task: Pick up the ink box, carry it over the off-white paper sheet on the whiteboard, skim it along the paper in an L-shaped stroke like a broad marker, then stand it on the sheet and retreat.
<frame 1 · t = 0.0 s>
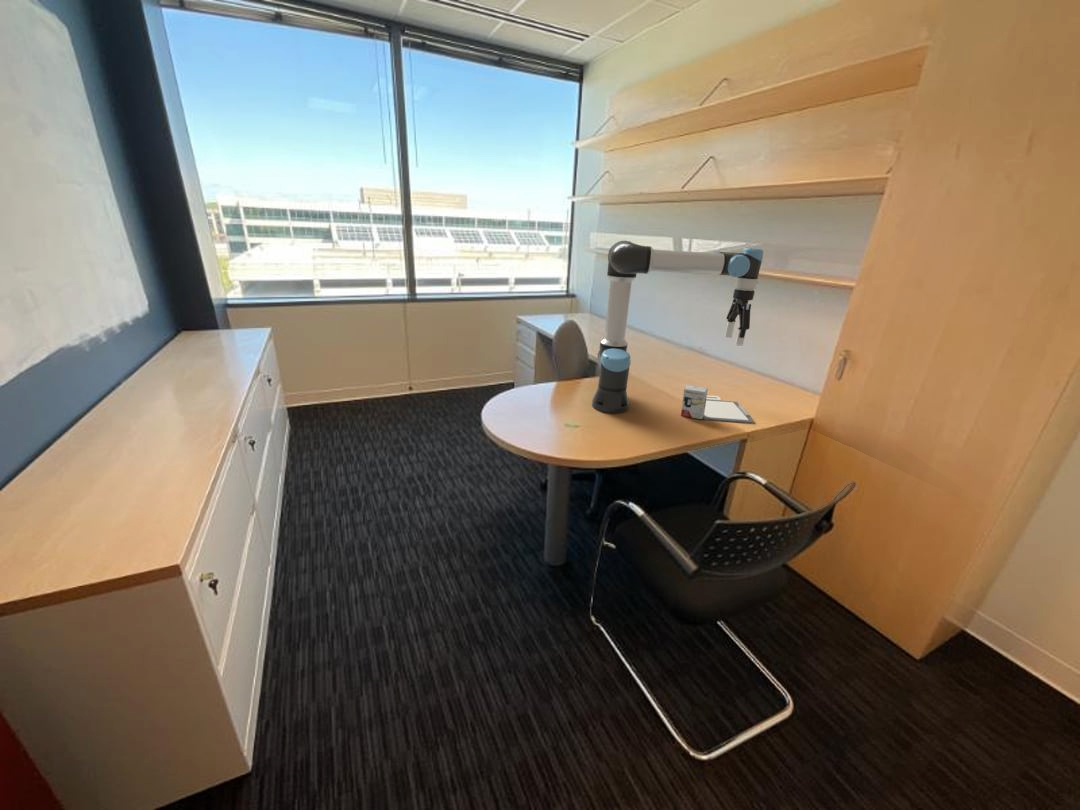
hand: (733, 341, 184), 28 cm above the table, fingers open, 13 cm apart
whiteboard: (720, 411, 186), on the table
ink box: (692, 415, 180), on the table, touching whiteboard
word card: (710, 398, 200), on the table
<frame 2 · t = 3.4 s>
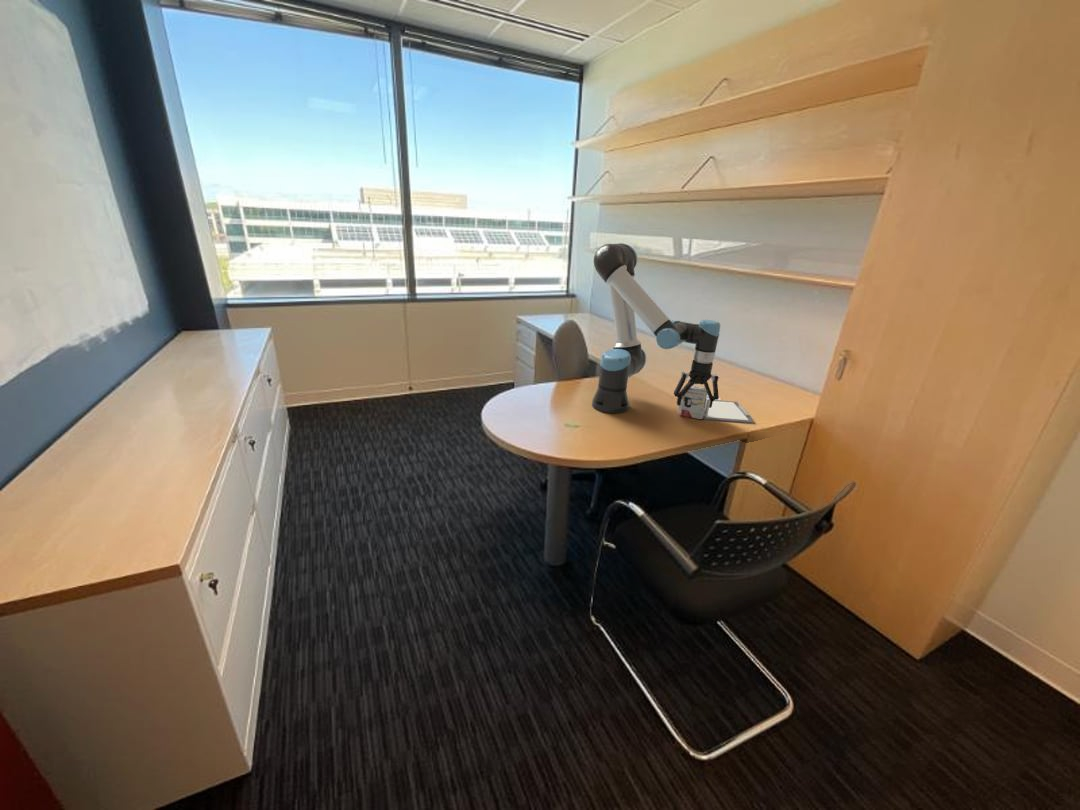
hand: (692, 413, 179), 1 cm above the table, fingers closed on ink box, 10 cm apart
ink box: (692, 415, 180), on the table, touching whiteboard, gripper
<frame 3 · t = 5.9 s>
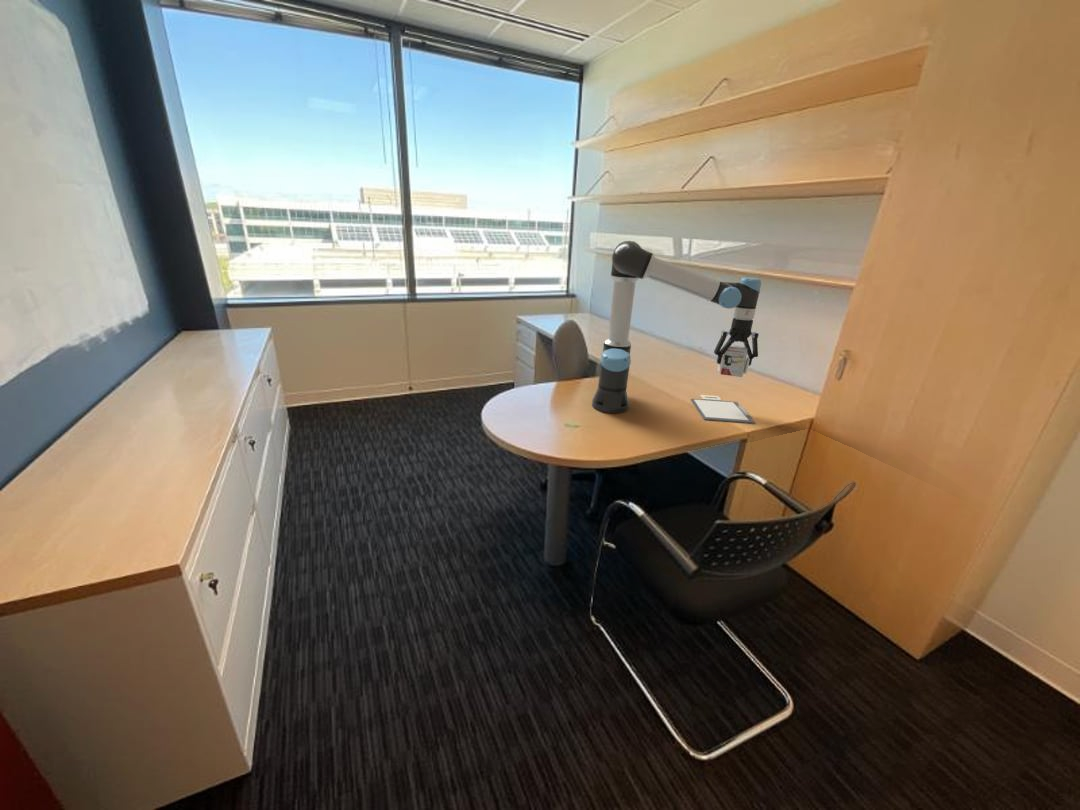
hand: (731, 371, 184), 16 cm above the table, fingers closed on ink box, 10 cm apart
ink box: (731, 374, 184), point 15 cm above the table, touching gripper
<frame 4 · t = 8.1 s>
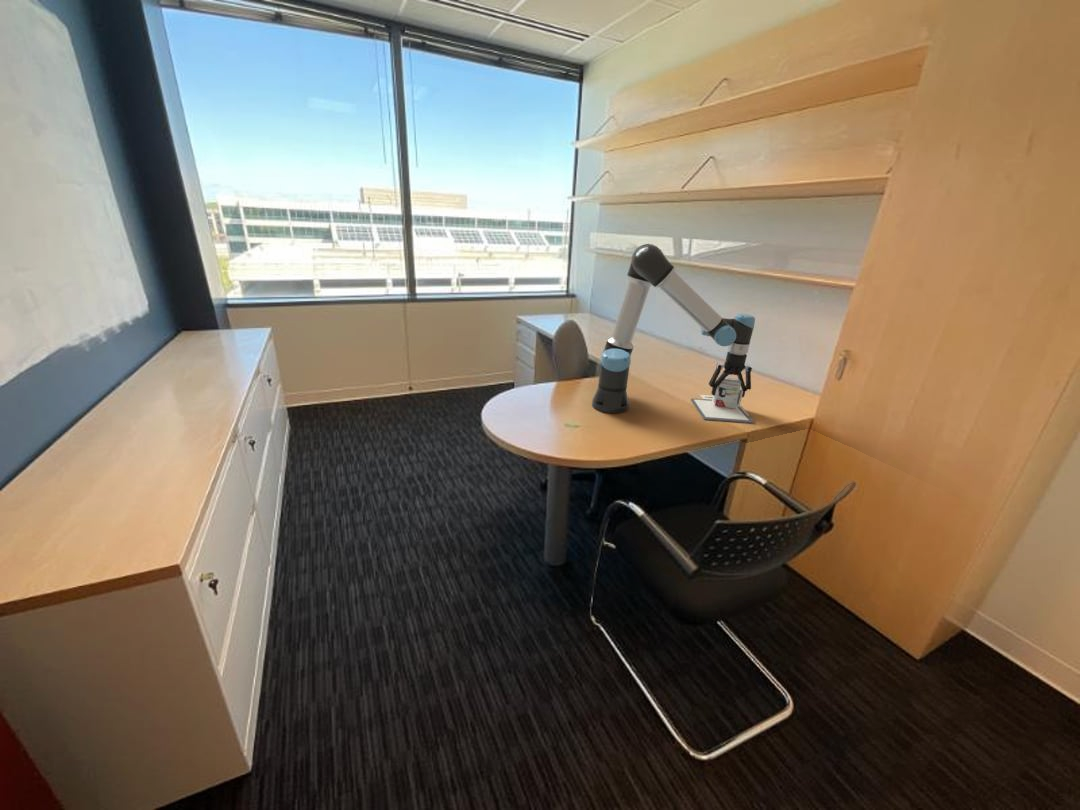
hand: (725, 403, 189), 2 cm above the table, fingers closed on ink box, 10 cm apart
ink box: (725, 405, 190), point 1 cm above the table, touching gripper
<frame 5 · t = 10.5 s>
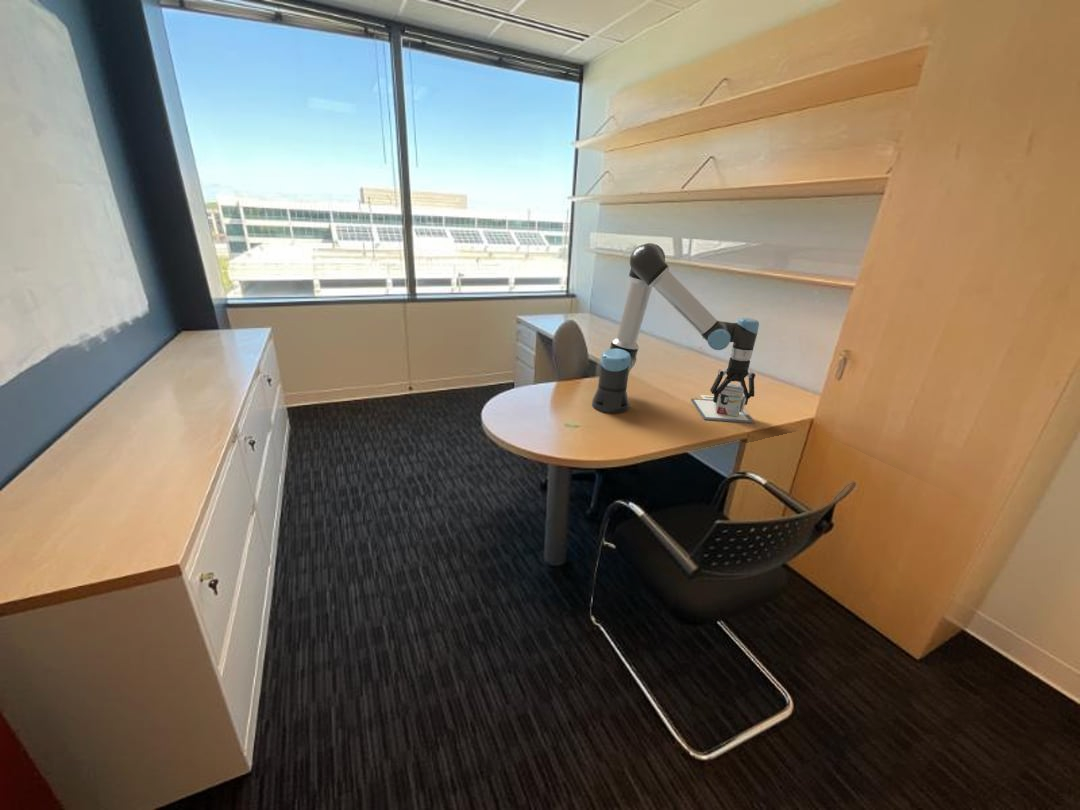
hand: (727, 410, 182), 2 cm above the table, fingers closed on ink box, 10 cm apart
ink box: (727, 413, 182), point 1 cm above the table, touching gripper
when the fingers open (2 cm above the table, at t = 12.8 s): ink box stays where it is, resting on whiteboard.
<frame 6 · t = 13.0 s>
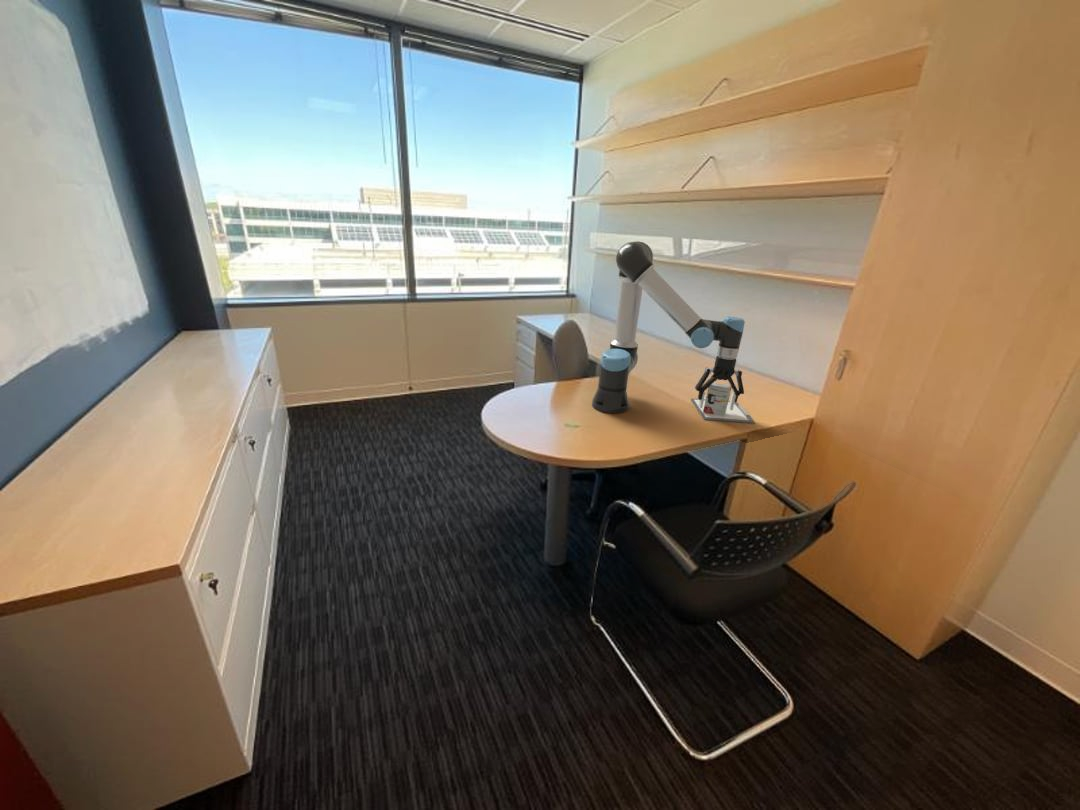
hand: (715, 407, 182), 3 cm above the table, fingers open, 11 cm apart
ink box: (714, 412, 183), point 1 cm above the table, touching whiteboard
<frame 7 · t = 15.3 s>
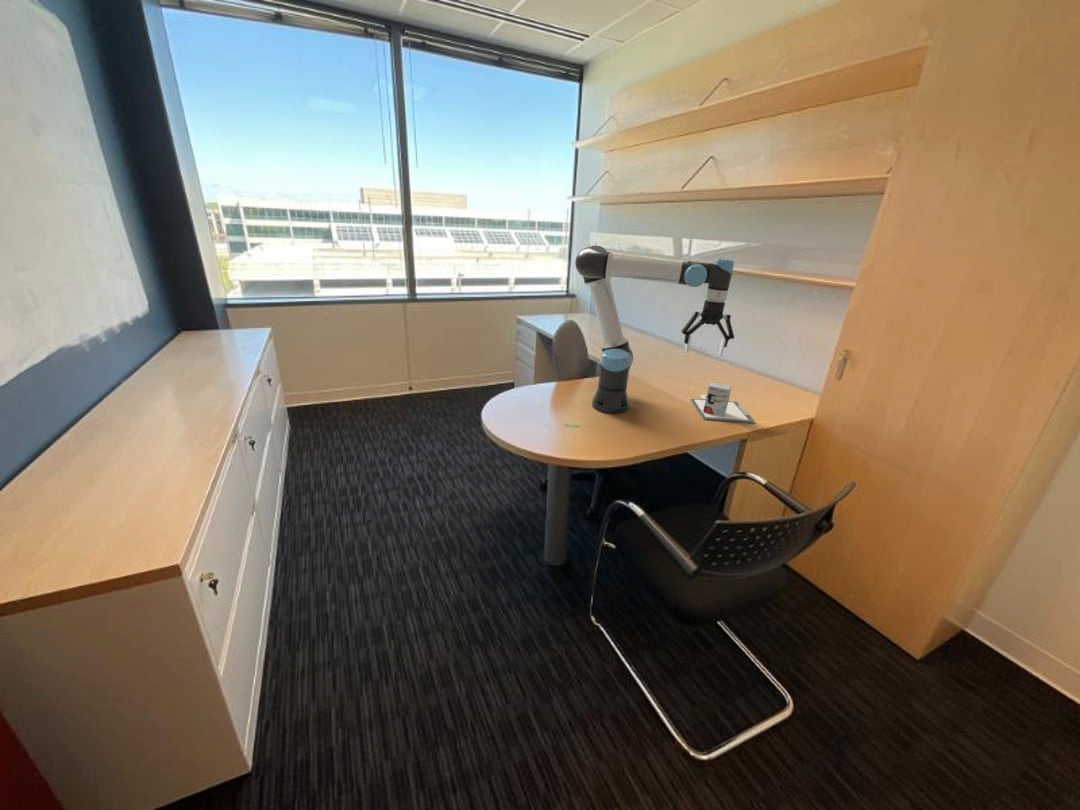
hand: (703, 353, 180), 24 cm above the table, fingers open, 13 cm apart
nothing on the table moved.
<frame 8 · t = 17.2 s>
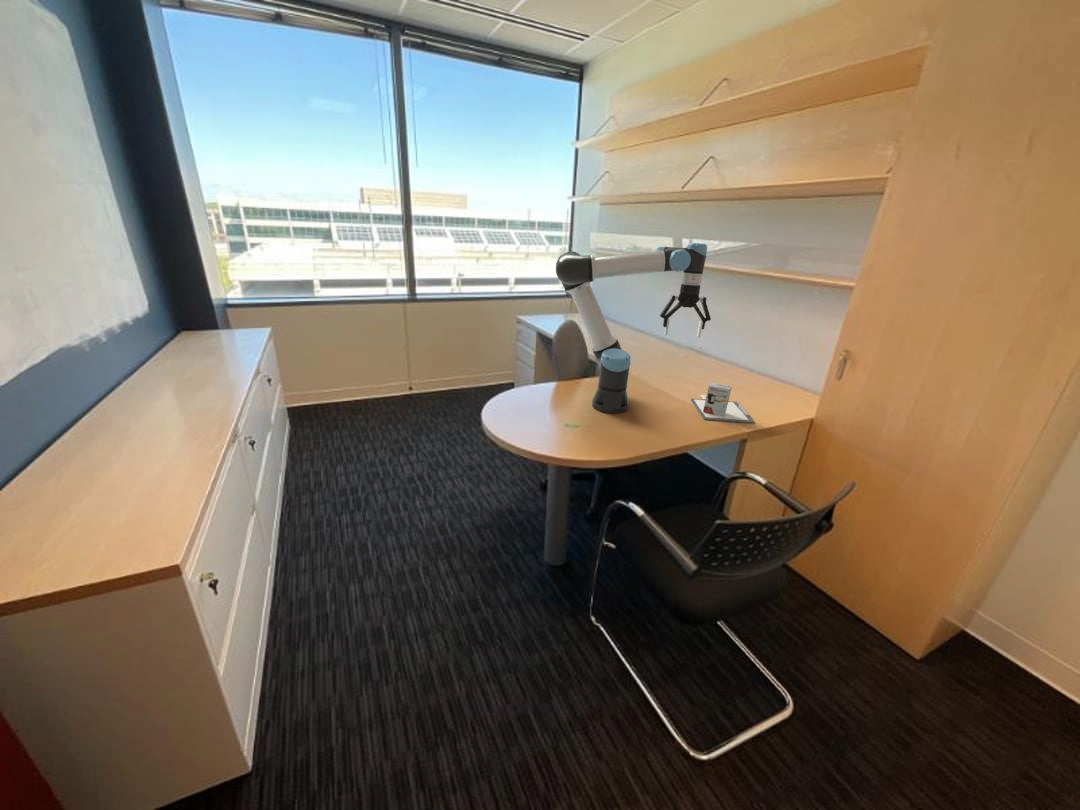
hand: (681, 335, 185), 29 cm above the table, fingers open, 13 cm apart
nothing on the table moved.
at the end: ink box inside the target area (1.6 cm from its centre), point 0.6 cm above the table; ink box tilted 0°; the gripper is holding nothing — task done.
